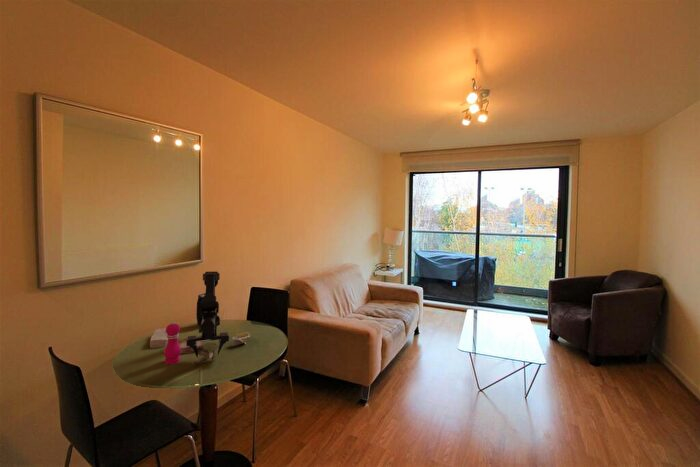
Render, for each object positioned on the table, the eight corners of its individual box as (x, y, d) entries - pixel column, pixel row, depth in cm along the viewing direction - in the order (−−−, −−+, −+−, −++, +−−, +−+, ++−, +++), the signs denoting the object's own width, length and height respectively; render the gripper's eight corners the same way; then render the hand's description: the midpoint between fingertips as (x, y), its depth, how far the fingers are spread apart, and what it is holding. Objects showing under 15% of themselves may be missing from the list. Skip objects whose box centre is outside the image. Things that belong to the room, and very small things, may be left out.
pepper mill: (169, 366, 149) (169, 324, 147) (160, 361, 153) (161, 321, 151) (184, 360, 155) (184, 320, 154) (175, 356, 159) (176, 317, 157)
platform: (262, 344, 179) (262, 333, 178) (230, 353, 166) (230, 341, 166) (251, 337, 187) (252, 326, 187) (221, 345, 175) (221, 333, 174)
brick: (167, 347, 169) (167, 338, 169) (149, 348, 166) (149, 340, 166) (172, 335, 184) (172, 327, 184) (155, 336, 181) (155, 328, 181)
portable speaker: (213, 326, 200) (214, 295, 198) (197, 328, 195) (197, 297, 193) (211, 321, 207) (212, 292, 205) (195, 323, 202) (195, 293, 200)
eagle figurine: (213, 353, 162) (194, 352, 158) (216, 345, 158) (196, 344, 155) (212, 367, 156) (191, 367, 152) (215, 359, 153) (194, 358, 149)
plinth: (203, 341, 177) (203, 336, 177) (203, 350, 166) (203, 345, 166) (178, 344, 172) (178, 339, 172) (177, 354, 161) (177, 348, 161)
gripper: (227, 317, 167) (226, 346, 168) (187, 321, 159) (187, 351, 160) (229, 325, 157) (228, 355, 158) (186, 329, 149) (186, 361, 150)
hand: (207, 355), depth 157 cm, fingers open, 9 cm apart
